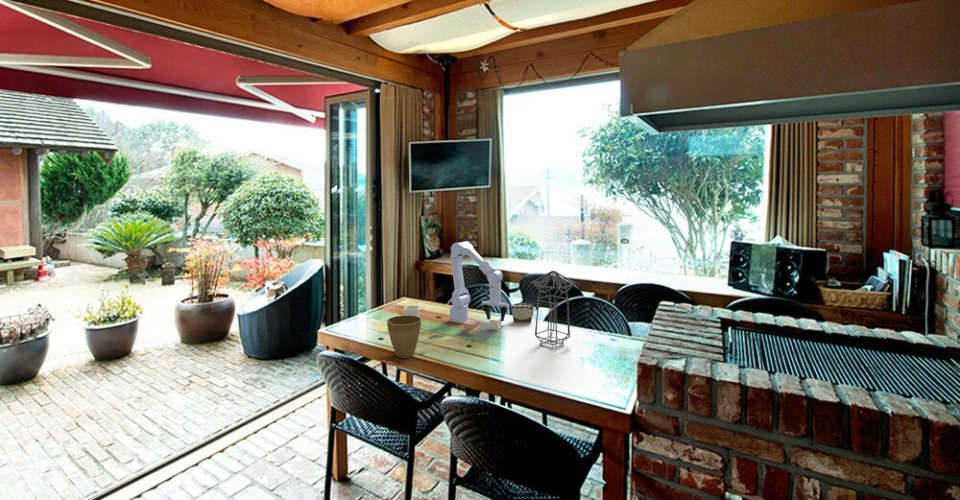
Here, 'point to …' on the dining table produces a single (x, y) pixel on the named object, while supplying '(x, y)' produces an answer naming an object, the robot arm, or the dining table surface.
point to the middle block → (470, 324)
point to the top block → (495, 323)
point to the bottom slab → (471, 330)
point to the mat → (481, 332)
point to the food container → (522, 312)
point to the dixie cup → (412, 310)
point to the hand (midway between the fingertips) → (495, 320)
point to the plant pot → (404, 334)
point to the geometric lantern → (551, 304)
